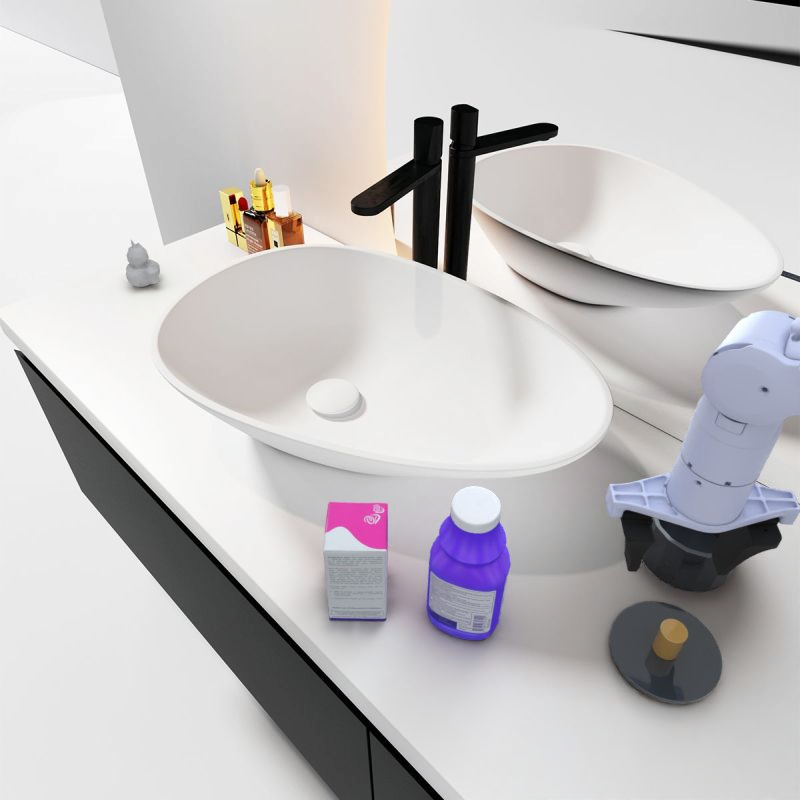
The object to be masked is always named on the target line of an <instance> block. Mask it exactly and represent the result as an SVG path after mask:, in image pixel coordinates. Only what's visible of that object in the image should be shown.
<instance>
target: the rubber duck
mask: <svg viewBox="0 0 800 800" xmlns="http://www.w3.org/2000/svg"><path fill="white" fill-rule="evenodd" d="M130 245H131V246H129V247H128V249H127V251H126V252H127V253H126V260H127V262H128V264H127V265H126V267H125V270H126V271H125V277H126V280H127V281H128V283H130V285H132V286H134V287H138V288H144V287H148V286H150V285H156V284H158V283H160V275H161V267H160V264H159V262H157V261H155V260H153V259H149V254H148V250H147V249H146V248H145V247H144V246H143V245H142V244H141V243H139V242H136V243H135V242H134V241H133V240H132V239H130Z"/></svg>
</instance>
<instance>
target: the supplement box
mask: <svg viewBox="0 0 800 800" xmlns="http://www.w3.org/2000/svg"><path fill="white" fill-rule="evenodd" d="M388 529H389V504H388V502H348V501H347V502H346V501H329V502H328V503H327V509H326V516H325V527H324V536H323V545H322V546H323V547H322V555H323V565H324V575H325V586H326V594H327V606H328V620H329V621H333V622H335V621H336V622H347V621H348V622H386V620H387V613H388V611H387V609H388V567H389V564H388V563H389V530H388Z"/></svg>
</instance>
